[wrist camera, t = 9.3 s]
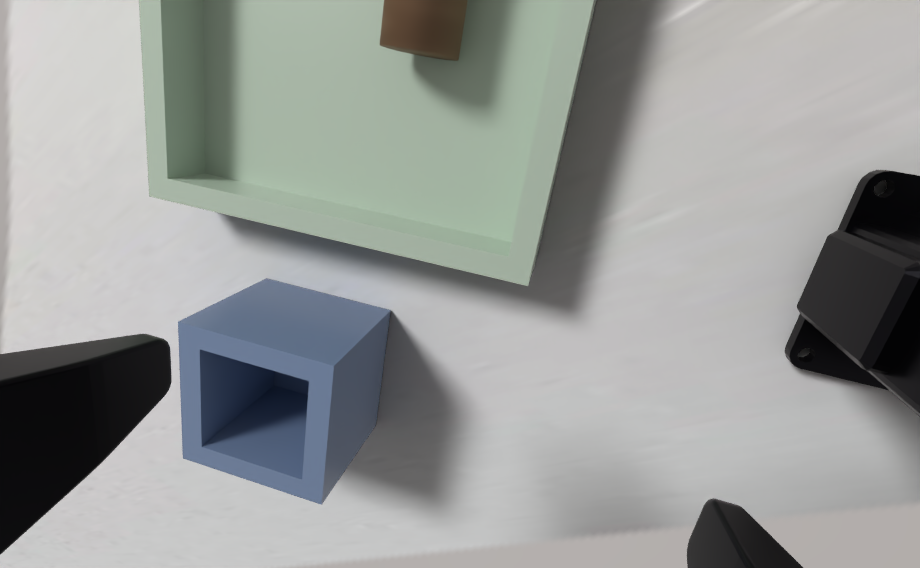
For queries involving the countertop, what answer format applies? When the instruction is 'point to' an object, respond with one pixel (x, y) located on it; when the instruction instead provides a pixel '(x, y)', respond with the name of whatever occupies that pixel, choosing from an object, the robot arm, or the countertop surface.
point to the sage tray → (365, 123)
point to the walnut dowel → (424, 27)
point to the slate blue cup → (281, 385)
